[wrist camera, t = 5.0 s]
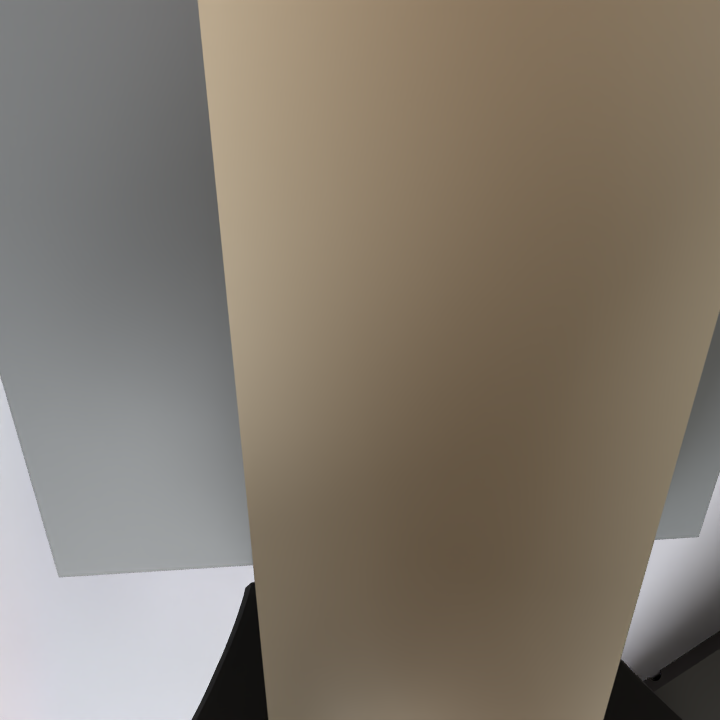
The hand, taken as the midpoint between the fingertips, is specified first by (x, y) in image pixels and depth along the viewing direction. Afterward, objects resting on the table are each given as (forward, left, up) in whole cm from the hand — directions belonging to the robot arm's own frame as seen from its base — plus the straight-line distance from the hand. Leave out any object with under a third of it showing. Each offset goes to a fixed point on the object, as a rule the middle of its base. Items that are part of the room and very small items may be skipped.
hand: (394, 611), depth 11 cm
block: (0, +5, 0) cm, 5 cm away
